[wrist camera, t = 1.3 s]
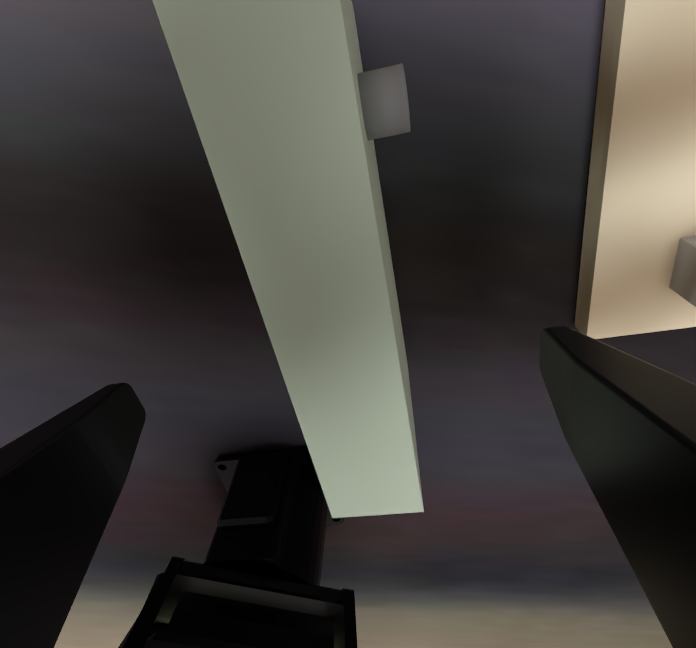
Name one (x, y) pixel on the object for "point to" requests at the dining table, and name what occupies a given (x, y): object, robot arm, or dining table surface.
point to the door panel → (311, 222)
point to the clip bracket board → (642, 174)
